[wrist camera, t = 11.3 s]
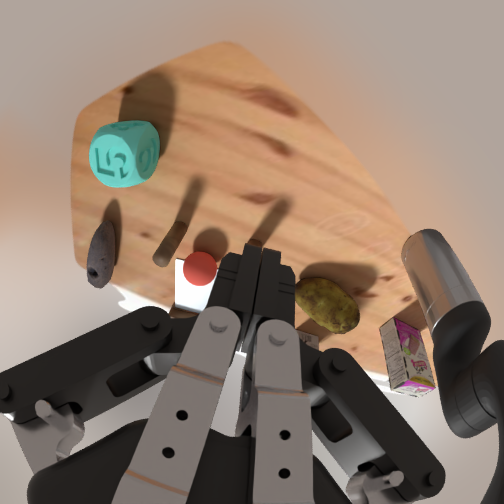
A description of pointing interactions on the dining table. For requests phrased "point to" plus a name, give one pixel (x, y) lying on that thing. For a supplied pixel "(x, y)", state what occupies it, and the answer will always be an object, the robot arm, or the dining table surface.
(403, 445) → the robot arm
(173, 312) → the stopper rail
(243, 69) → the dining table surface
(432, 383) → the candy bar box
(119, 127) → the decorative dice
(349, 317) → the potato
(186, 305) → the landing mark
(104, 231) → the perforated stone tool
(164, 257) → the post left
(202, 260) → the ball
